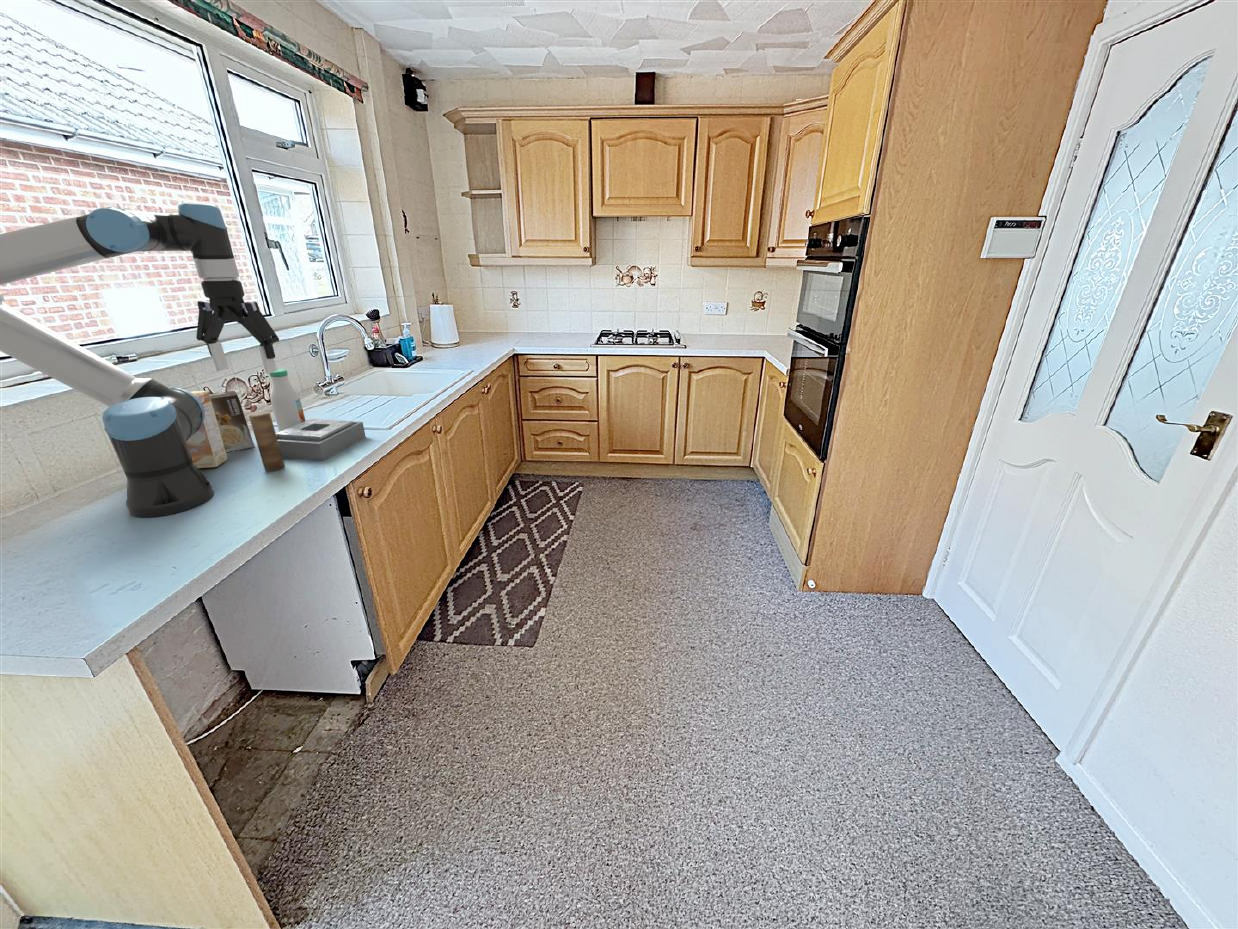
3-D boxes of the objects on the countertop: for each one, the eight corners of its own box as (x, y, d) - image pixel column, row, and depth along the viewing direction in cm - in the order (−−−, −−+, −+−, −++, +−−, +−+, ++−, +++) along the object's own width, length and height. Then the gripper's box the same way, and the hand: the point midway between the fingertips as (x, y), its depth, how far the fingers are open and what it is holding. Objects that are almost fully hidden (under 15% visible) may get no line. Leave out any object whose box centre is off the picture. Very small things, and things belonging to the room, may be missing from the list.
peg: (276, 472, 131) (260, 417, 125) (260, 471, 132) (244, 416, 126) (289, 465, 135) (274, 412, 129) (274, 464, 136) (258, 411, 130)
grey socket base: (323, 460, 139) (319, 443, 137) (269, 456, 141) (264, 439, 139) (365, 437, 156) (362, 421, 154) (316, 433, 158) (312, 418, 156)
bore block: (324, 453, 141) (320, 436, 139) (279, 450, 143) (275, 433, 141) (355, 436, 153) (352, 421, 151) (314, 433, 155) (310, 418, 153)
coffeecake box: (149, 473, 129) (123, 398, 123) (165, 464, 135) (141, 393, 129) (216, 467, 133) (195, 394, 126) (228, 459, 139) (209, 389, 133)
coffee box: (251, 441, 152) (236, 390, 145) (255, 447, 147) (239, 394, 141) (214, 448, 146) (196, 395, 140) (216, 455, 142) (198, 400, 135)
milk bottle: (298, 436, 156) (282, 373, 148) (274, 436, 156) (256, 373, 148) (313, 428, 163) (297, 367, 155) (289, 428, 163) (273, 367, 155)
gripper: (281, 279, 116) (303, 369, 125) (188, 277, 120) (216, 365, 128) (255, 281, 110) (280, 376, 118) (157, 279, 113) (189, 372, 122)
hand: (247, 370), depth 123 cm, fingers open, 13 cm apart
